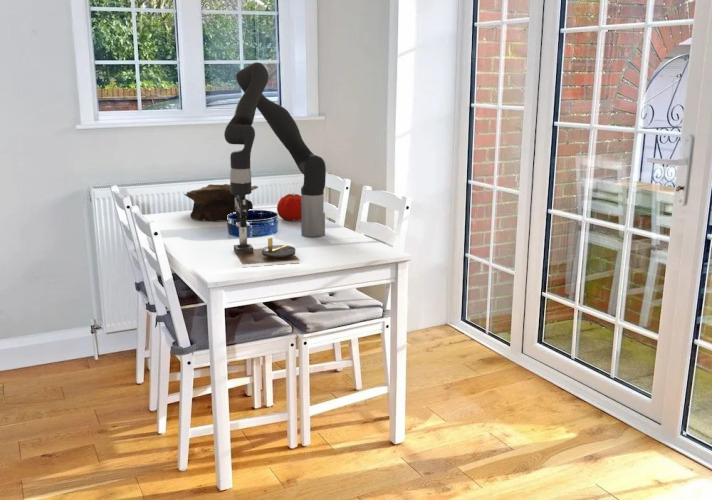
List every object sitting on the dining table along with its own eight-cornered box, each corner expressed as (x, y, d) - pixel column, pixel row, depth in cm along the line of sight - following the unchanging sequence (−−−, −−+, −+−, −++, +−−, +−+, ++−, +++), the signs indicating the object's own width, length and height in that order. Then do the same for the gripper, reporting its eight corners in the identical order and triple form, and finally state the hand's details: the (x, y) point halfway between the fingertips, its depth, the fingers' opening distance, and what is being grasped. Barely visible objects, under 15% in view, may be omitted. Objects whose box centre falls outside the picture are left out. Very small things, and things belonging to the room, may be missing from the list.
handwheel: (255, 254, 252) (254, 236, 251) (274, 247, 263) (274, 230, 261) (282, 259, 247) (282, 241, 245) (301, 251, 257) (301, 234, 255)
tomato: (280, 216, 330) (280, 191, 327) (310, 217, 328) (310, 192, 325) (273, 222, 317) (273, 196, 314) (304, 223, 315) (304, 197, 312)
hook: (249, 250, 263) (248, 221, 260) (250, 252, 260) (250, 223, 257) (236, 251, 261) (235, 222, 259) (237, 253, 259) (236, 224, 256)
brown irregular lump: (176, 225, 318) (172, 192, 315) (200, 214, 350) (197, 184, 347) (250, 221, 313) (247, 187, 310) (268, 210, 346) (265, 179, 343)
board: (287, 249, 270) (287, 241, 269) (299, 263, 251) (299, 254, 250) (233, 253, 263) (233, 244, 262) (242, 267, 245) (242, 258, 244)
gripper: (227, 177, 260) (228, 221, 264) (233, 183, 247) (234, 229, 251) (247, 177, 262) (248, 220, 266) (254, 183, 249) (255, 228, 253)
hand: (241, 224), depth 258 cm, fingers open, 8 cm apart
